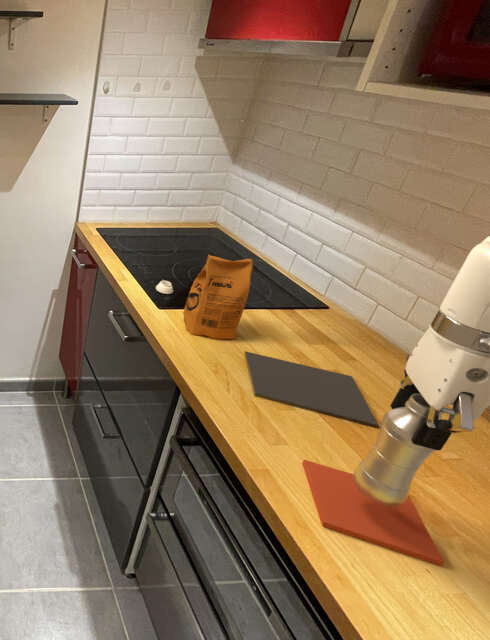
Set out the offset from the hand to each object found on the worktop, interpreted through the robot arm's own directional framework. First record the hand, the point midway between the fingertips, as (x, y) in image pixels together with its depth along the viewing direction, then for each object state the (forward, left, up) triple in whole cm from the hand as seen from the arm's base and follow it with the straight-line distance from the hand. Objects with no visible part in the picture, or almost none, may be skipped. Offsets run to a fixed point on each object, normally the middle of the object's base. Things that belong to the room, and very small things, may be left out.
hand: (413, 426), depth 68 cm
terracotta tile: (0, 0, -19) cm, 19 cm away
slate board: (+2, -31, -19) cm, 36 cm away
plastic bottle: (0, 0, -15) cm, 15 cm away
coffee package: (+21, -47, -19) cm, 55 cm away
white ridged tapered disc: (+32, -64, -19) cm, 74 cm away
